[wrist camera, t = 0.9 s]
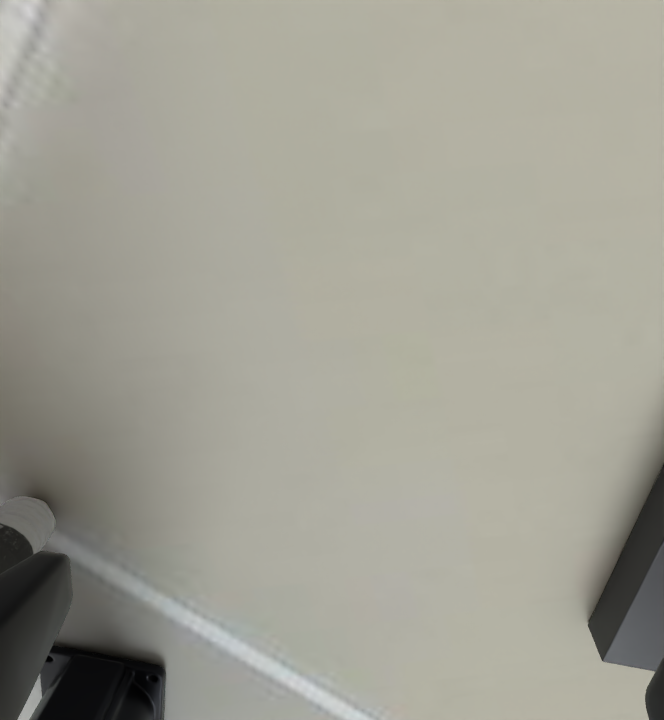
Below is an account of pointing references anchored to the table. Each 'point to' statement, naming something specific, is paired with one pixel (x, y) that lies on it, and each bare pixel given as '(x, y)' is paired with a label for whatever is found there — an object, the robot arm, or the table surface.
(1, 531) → the light bulb
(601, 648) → the button base
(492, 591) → the table surface
